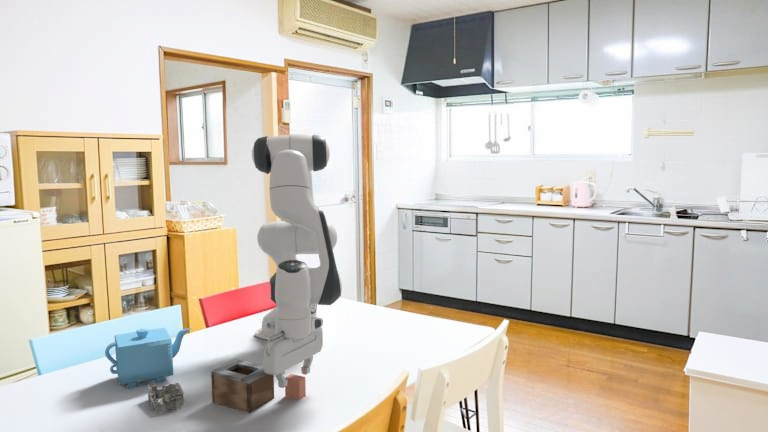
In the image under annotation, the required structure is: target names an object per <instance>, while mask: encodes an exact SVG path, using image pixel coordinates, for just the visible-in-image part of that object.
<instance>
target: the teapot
mask: <svg viewBox="0 0 768 432" xmlns="http://www.w3.org/2000/svg"><path fill="white" fill-rule="evenodd" d="M191 330H192V327H189V328H188V327H187V328H183V329H181V330H179V331H178V332H177V334H176V337H175V338H174V339H175V340H174V341H173V340H172V337H171V336H170V334H169V331H167V328H166V327H159V328H154V329H153V328H152V329H149V328H140V329H137V330H136V331H133V332H127V333H121V334H114V341H113V342H110V343H109V344H108V345H107V347H106V348H105V350H104V354H105V357H106V359H107V360H108V361H110V363H111V366H110V367H109V371H110V373H111V374H113V375H117V378H118V382H119V383H118V384H119V386H125V385H127V386H126V387H127V388H128V389H133V388H134V387H135V388H137V387H139V383H140V382H144V381H145V382H146V381H148V380H149V381H150V380H153V382H154V383H157V384H160V383H164V382H165V381H166V378H165V377H170V376H174V361H173V359H174V358H175V357H176V356H177V355H178V353H179V351H180V348H181V345H182V342H183V341H182V340H183V338H184V336H185V334H186V333H188V332H189V331H191ZM113 347H115V348H114V349H115V359H114V357H112V355H111V354H110V350H111V349H112V348H113ZM114 368H116V369H114Z"/></svg>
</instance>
